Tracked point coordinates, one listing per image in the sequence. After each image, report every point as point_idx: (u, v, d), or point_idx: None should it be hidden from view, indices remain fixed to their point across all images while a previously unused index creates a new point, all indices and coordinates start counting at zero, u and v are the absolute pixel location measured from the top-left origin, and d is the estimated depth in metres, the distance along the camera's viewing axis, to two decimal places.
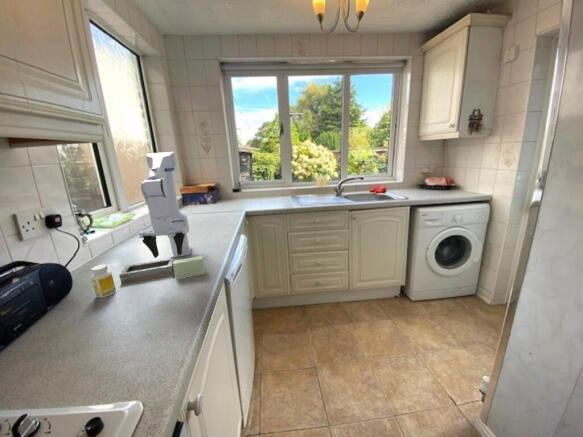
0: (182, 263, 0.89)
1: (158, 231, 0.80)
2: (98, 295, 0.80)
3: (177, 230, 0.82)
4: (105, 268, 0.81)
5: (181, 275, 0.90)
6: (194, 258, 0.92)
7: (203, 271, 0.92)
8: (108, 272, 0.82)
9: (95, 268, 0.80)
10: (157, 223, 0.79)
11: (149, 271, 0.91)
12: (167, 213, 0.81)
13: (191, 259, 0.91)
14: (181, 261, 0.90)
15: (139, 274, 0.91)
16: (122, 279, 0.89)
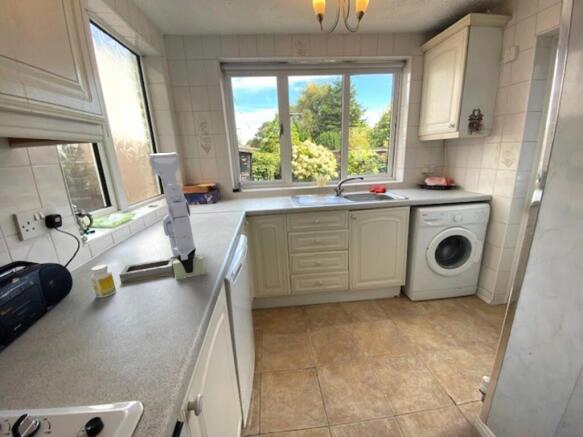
0: None
1: None
2: (98, 295, 0.80)
3: (180, 253, 0.85)
4: (105, 268, 0.81)
5: (181, 275, 0.90)
6: (194, 258, 0.92)
7: (203, 271, 0.92)
8: (108, 272, 0.82)
9: (95, 268, 0.80)
10: None
11: (149, 271, 0.91)
12: (191, 231, 0.88)
13: None
14: None
15: (139, 274, 0.91)
16: (122, 279, 0.89)
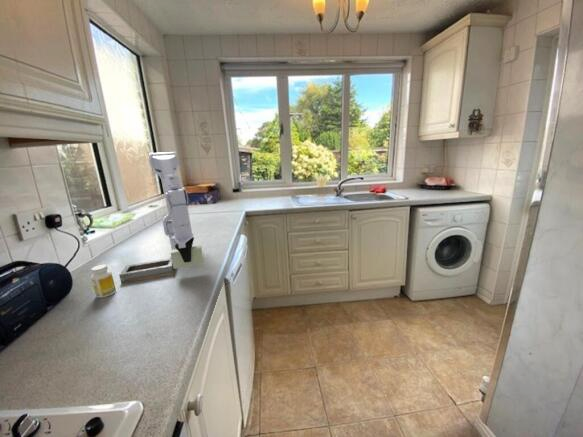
0: None
1: None
2: (98, 295, 0.80)
3: (177, 242, 0.84)
4: (105, 268, 0.81)
5: (179, 264, 0.89)
6: (193, 248, 0.91)
7: (201, 261, 0.91)
8: (108, 272, 0.82)
9: (95, 268, 0.80)
10: None
11: (149, 271, 0.91)
12: (189, 220, 0.87)
13: None
14: None
15: (139, 274, 0.91)
16: (122, 279, 0.89)
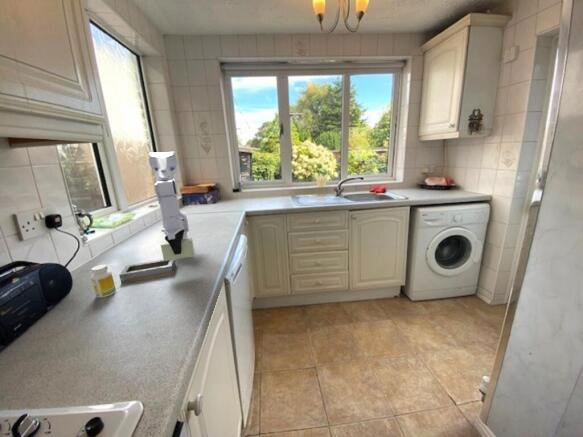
0: None
1: None
2: (98, 295, 0.80)
3: (167, 233, 0.84)
4: (105, 268, 0.81)
5: (169, 257, 0.89)
6: (183, 240, 0.90)
7: (192, 253, 0.91)
8: (108, 272, 0.82)
9: (95, 268, 0.80)
10: None
11: (149, 271, 0.91)
12: (178, 212, 0.87)
13: None
14: None
15: (139, 274, 0.91)
16: (122, 279, 0.89)
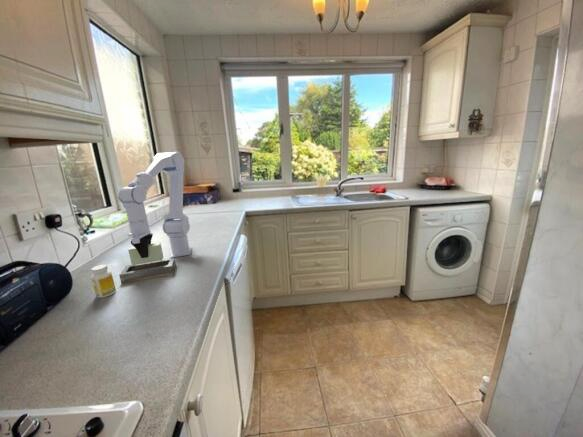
0: None
1: None
2: (98, 295, 0.80)
3: (132, 237, 0.86)
4: (105, 268, 0.81)
5: (137, 261, 0.92)
6: (151, 245, 0.93)
7: (160, 257, 0.94)
8: (108, 272, 0.82)
9: (95, 268, 0.80)
10: None
11: (149, 271, 0.91)
12: (140, 218, 0.88)
13: (148, 245, 0.93)
14: None
15: (139, 274, 0.91)
16: (122, 279, 0.89)
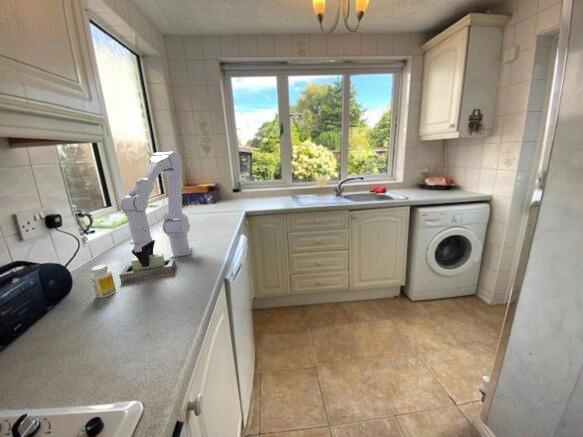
0: None
1: None
2: (98, 295, 0.80)
3: (134, 246, 0.87)
4: (105, 268, 0.81)
5: None
6: (154, 256, 0.94)
7: None
8: (108, 272, 0.82)
9: (95, 268, 0.80)
10: None
11: (149, 271, 0.91)
12: (142, 226, 0.89)
13: (150, 256, 0.94)
14: None
15: (139, 274, 0.91)
16: (122, 279, 0.89)
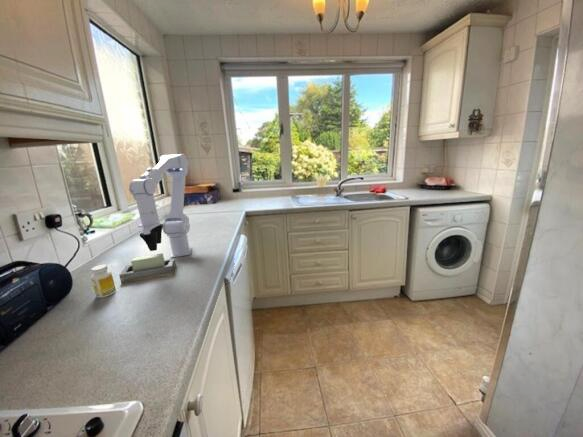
0: (141, 260, 0.92)
1: None
2: (98, 295, 0.80)
3: (143, 228, 0.88)
4: (105, 268, 0.81)
5: None
6: (154, 256, 0.94)
7: None
8: (108, 272, 0.82)
9: (95, 268, 0.80)
10: None
11: (149, 271, 0.91)
12: (151, 209, 0.90)
13: (150, 256, 0.94)
14: (140, 258, 0.93)
15: (139, 274, 0.91)
16: (122, 279, 0.89)
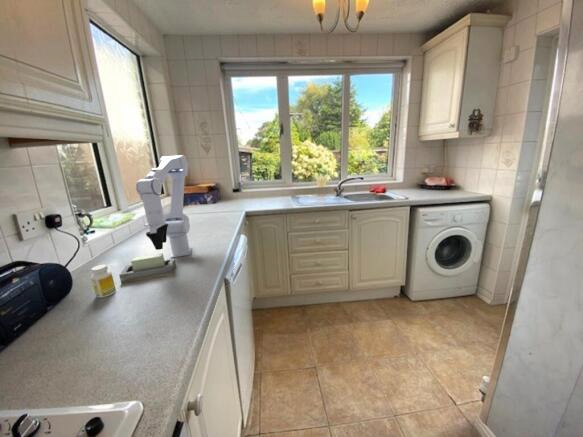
0: (141, 260, 0.92)
1: None
2: (98, 295, 0.80)
3: (149, 227, 0.90)
4: (105, 268, 0.81)
5: None
6: (154, 256, 0.94)
7: None
8: (108, 272, 0.82)
9: (95, 268, 0.80)
10: None
11: (149, 271, 0.91)
12: (158, 209, 0.92)
13: (150, 256, 0.94)
14: (140, 258, 0.93)
15: (139, 274, 0.91)
16: (122, 279, 0.89)
